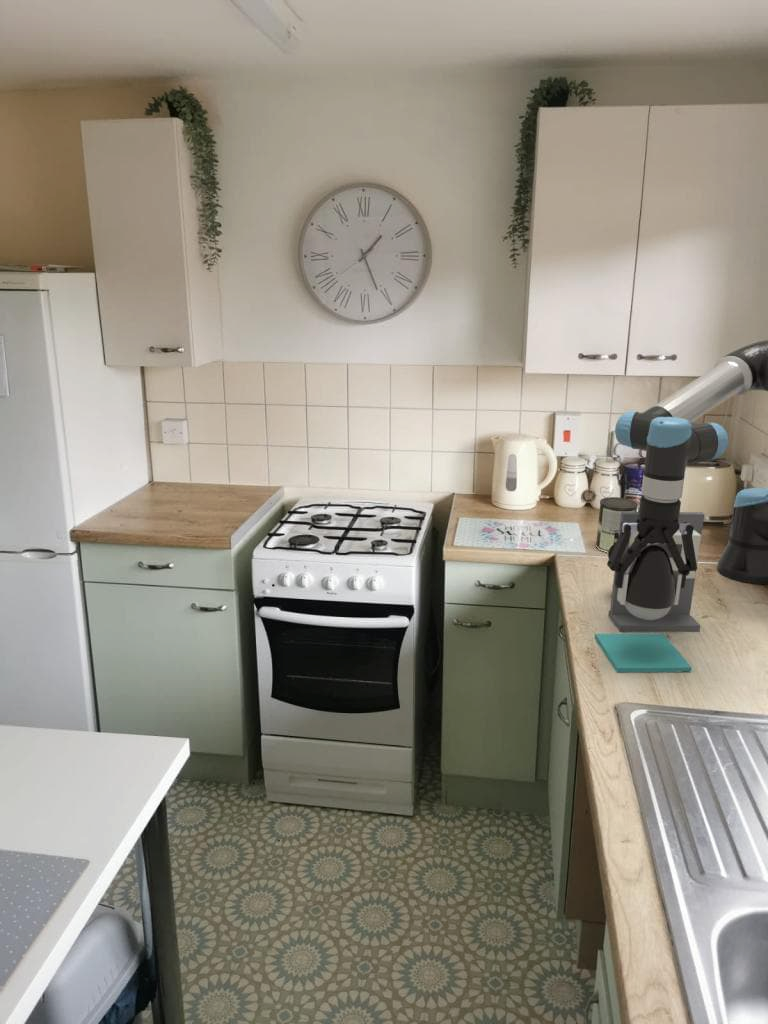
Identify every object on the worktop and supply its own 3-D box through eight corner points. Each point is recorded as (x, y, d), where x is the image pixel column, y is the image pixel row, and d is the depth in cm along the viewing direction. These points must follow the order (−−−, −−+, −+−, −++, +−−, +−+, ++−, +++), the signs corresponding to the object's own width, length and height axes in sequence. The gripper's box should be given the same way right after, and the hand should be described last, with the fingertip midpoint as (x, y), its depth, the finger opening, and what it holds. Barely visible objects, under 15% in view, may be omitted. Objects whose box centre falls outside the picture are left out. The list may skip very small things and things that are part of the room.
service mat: (662, 637, 166) (663, 633, 166) (691, 672, 152) (691, 667, 152) (594, 637, 166) (595, 633, 166) (616, 672, 152) (617, 667, 151)
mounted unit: (684, 616, 177) (700, 511, 170) (699, 631, 170) (716, 522, 162) (608, 616, 177) (620, 511, 169) (619, 631, 169) (632, 522, 161)
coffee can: (588, 544, 224) (593, 498, 219) (618, 541, 227) (623, 495, 223) (608, 556, 214) (614, 508, 210) (639, 553, 218) (645, 505, 213)
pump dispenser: (613, 603, 161) (621, 535, 157) (662, 605, 161) (672, 537, 156) (626, 624, 152) (635, 552, 147) (678, 626, 151) (689, 554, 147)
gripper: (709, 492, 153) (694, 594, 159) (597, 491, 152) (586, 594, 159) (726, 503, 146) (710, 609, 152) (609, 502, 145) (597, 609, 151)
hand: (647, 602), depth 155 cm, fingers closed on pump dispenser, 10 cm apart
